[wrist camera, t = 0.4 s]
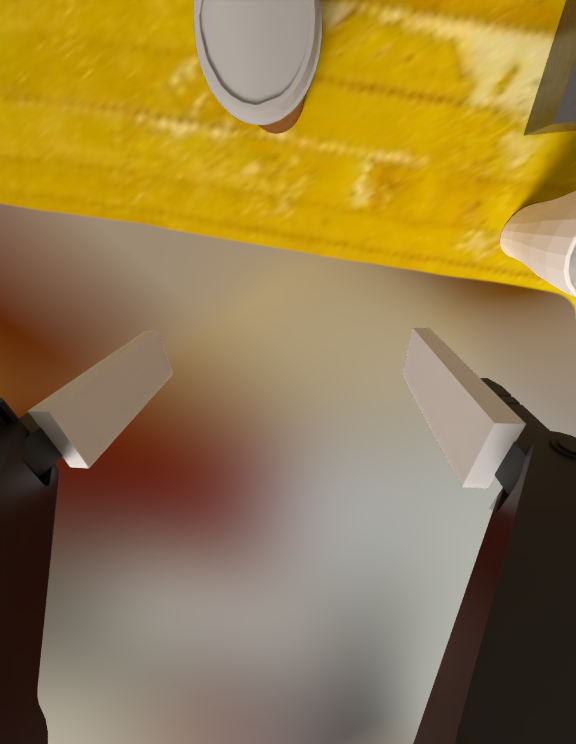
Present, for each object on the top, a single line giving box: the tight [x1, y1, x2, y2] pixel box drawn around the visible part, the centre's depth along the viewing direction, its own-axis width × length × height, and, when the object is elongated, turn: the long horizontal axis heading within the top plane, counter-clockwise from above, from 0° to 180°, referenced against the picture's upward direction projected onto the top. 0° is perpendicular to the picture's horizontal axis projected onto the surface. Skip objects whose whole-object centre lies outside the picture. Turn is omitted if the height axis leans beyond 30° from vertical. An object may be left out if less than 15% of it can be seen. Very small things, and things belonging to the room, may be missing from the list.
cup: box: [500, 191, 576, 297], centre depth 27 cm, size 10×10×14 cm
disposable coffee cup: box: [194, 0, 322, 134], centre depth 23 cm, size 10×10×12 cm
